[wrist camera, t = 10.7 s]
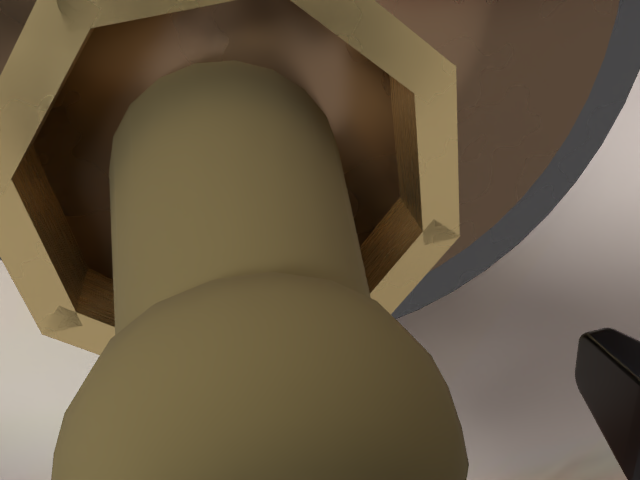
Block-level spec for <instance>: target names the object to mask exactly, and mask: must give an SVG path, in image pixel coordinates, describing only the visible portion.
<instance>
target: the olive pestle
mask: <svg viewBox="0 0 640 480" xmlns="http://www.w3.org/2000/svg"><path fill="white" fill-rule="evenodd" d="M109 183H110V210H111V236H112V263H113V290H114V316H115V336H113V337H112V338H111V339H110V341H109V342H108V344H107V345H106V347H105V349H104V350H103V352H102V353H101V355H100V357H99V358H98V360H97V361H96V363H95V364H94V366H93V368H92V369H91V371H90V373H89V374H88V376H87V378H86V379H85V381H84V382H83V384H82V386H81V387H80V389H79V391H78V392H77V394H76V396H75V397H74V399H73V400H72V402H71V404H70V405H69V407H68V409H67V410H66V412H65V414H64V418H63V421H62V425H61V429H60V432H59V436H58V440H57V444H56V447H55V451H54V458H53V468H52V478H51V480H466V478H467V472H468V466H469V463H468V458H467V453H466V448H465V442H464V437H463V432H462V427H461V424H460V421H459V418H458V415H457V412H456V409H455V406H454V403H453V400H452V397H451V394H450V391H449V388H448V386H447V384H446V382H445V380H444V378H443V377H442V375H441V373H440V371H439V369H438V367H437V366H436V364H435V362H434V360H433V358H432V356H431V355H430V354H429V353H428V352H427V351H426V350H425V349H424V348H423V347H422V346H421V345H420V344H419V343H418V342H417V341H416V340H415V338H414V337H413V336H412V335H411V334H410V333H409V332H408V331H407V330H406V329H405V328H404V327H403V326H402V325H401V324H400V323H399V322H398V321H397V320H396V319H395V318H394V317H393V316H392V315H391V314H390V313H389V312H388V311H387V310H386V309H385V308H384V307H382V306H381V305H380V304H379V303H378V302H377V301H376V300H374V299H371V297H370V292H369V287H368V283H367V278H366V274H365V269H364V264H363V260H362V255H361V251H360V246H359V241H358V237H357V232H356V228H355V223H354V218H353V214H352V209H351V205H350V200H349V195H348V191H347V186H346V182H345V177H344V172H343V168H342V163H341V159H340V154H339V149H338V146H337V143H336V141H335V138H334V135H333V132H332V130H331V127H330V124H329V121H328V119H327V116H326V115H325V114H324V113H323V111H322V110H321V109H320V108H319V106H318V105H317V104H316V103H315V102H314V100H313V99H312V98H311V97H310V96H309V94H308V93H307V92H306V91H305V89H303V88H302V87H300V86H298V85H297V84H295V83H294V82H292V81H290V80H289V79H287V78H285V77H284V76H282V75H281V74H279V73H277V72H276V71H274V70H273V69H268V68H264V67H260V66H256V65H252V64H248V63H244V62H240V61H235V60H232V61H219V62H206V63H195V64H192V65H190V66H187V67H185V68H183V69H180V70H178V71H176V72H173V73H171V74H168V75H166V76H164V77H161V78H159V79H158V80H156V81H155V82H154V83H153V84H152V85H151V86H150V87H149V88H148V89H146V90H145V91H144V92H143V93H142V94H141V95H140V96H139V97H138V98H137V99H135V100H134V101H133V102H132V103H131V104H130V105H129V107H128V109H127V111H126V113H125V115H124V117H123V119H122V121H121V123H120V125H119V126H118V128H117V130H116V132H115V134H114V136H113V143H112V151H111V159H110V167H109Z"/></svg>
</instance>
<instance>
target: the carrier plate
mask: <svg viewBox="0 0 640 480" xmlns="http://www.w3.org/2000/svg"><path fill="white" fill-rule="evenodd" d="M232 60H235V61H240V62H244V63H248V64H252V65H256V66H260V67H264V68H268V69H273V70H274V71H276V72H277V73H279V74H281V75H282V76H284V77H285V78H287V79H289V80H290V81H292V82H294V83H295V84H297V85H298V86H300V87H302V88H303V89H305V91H306V92H307V93H308V94H309V96H310V97H311V98H312V99H313V100H314V102H315V103H316V104H317V105H318V106H319V108H320V109H321V110H322V111H323V113H324V114H325V115H326V116H327V119H328V121H329V124H330V127H331V130H332V132H333V135H334V138H335V141H336V143H337V146H338V149H339V154H340V159H341V163H342V168H343V172H344V177H345V182H346V186H347V191H348V195H349V200H350V205H351V209H352V214H353V218H354V223H355V228H356V232H357V237H358V241H359V246H360V251H361V255H362V260H363V264H364V269H365V274H366V278H367V283H368V287H369V292H370V297H371V299H374V300H376V301H377V302H378V303H379V304H380V305H381V306H382V307H384V308H385V309H386V310H387V311H388V312H389V313H390V314H391V315H392V316H393V317H394V318H395V319H397V318H399V317H402V316H404V315H407V314H409V313H411V312H414V311H416V310H419V309H421V308H422V307H424V306H426V305H428V304H430V303H432V302H434V301H436V300H438V299H440V298H441V297H443V296H445V295H447V294H449V293H451V292H453V291H454V290H456V289H457V288H459V287H461V286H462V285H464V284H465V283H467V282H468V281H470V280H471V279H473V278H474V277H476V276H477V275H479V274H480V273H482V272H483V271H485V270H486V269H488V268H489V267H490V266H491V265H493V264H494V263H495V262H496V261H498V260H499V259H500V258H501V257H503V256H504V255H505V254H506V253H508V252H509V251H510V250H511V249H513V248H514V247H515V246H516V245H517V244H519V243H520V242H521V241H522V240H523V239H524V238H525V237H526V236H527V235H528V234H529V233H530V232H531V231H532V230H533V229H534V228H535V227H536V226H537V225H538V224H539V223H540V222H541V221H542V220H543V219H544V218H545V217H546V216H547V215H548V214H549V213H550V212H551V211H552V210H553V208H554V207H555V206H556V205H557V204H558V202H559V201H560V200H561V199H562V198H563V197H564V195H565V194H566V193H567V192H568V191H569V189H570V188H571V187H572V186H573V185H574V184H575V182H576V181H577V180H578V178H579V177H580V175H581V174H582V172H583V171H584V170H585V168H586V167H587V165H588V164H589V162H590V161H591V159H592V158H593V157H594V155H595V154H596V152H597V151H598V149H599V148H600V146H601V145H602V143H603V141H604V140H605V138H606V136H607V134H608V133H609V131H610V129H611V127H612V125H613V124H614V122H615V120H616V118H617V116H618V115H619V113H620V111H621V109H622V108H623V106H624V104H625V102H626V99H627V97H628V95H629V93H630V90H631V88H632V86H633V83H634V81H635V79H636V77H637V74H638V72H639V70H640V0H0V260H2V261H3V263H4V265H5V267H6V269H7V270H8V272H9V274H10V276H11V278H12V280H13V281H14V283H15V285H16V287H17V289H18V291H19V292H20V294H21V296H22V298H23V300H24V302H25V304H26V305H27V307H28V309H29V311H30V313H31V315H32V316H33V318H34V320H35V322H36V324H37V326H38V328H39V329H40V331H41V334H42V335H46V336H48V337H51V338H54V339H57V340H59V341H62V342H65V343H68V344H71V345H73V346H76V347H79V348H82V349H85V350H87V351H90V352H93V353H96V354H98V355H101V353H102V352H103V350H104V349H105V347H106V345H107V344H108V342H109V341H110V339H111V338H112V337H113V336H115V316H114V290H113V263H112V236H111V210H110V183H109V167H110V159H111V151H112V143H113V136H114V134H115V132H116V130H117V128H118V126H119V125H120V123H121V121H122V119H123V117H124V115H125V113H126V111H127V109H128V107H129V105H130V104H131V103H132V102H133V101H134V100H135V99H137V98H138V97H139V96H140V95H141V94H142V93H143V92H144V91H145V90H146V89H148V88H149V87H150V86H151V85H152V84H153V83H154V82H155V81H156V80H158V79H159V78H161V77H164V76H166V75H168V74H171V73H173V72H176V71H178V70H180V69H183V68H185V67H187V66H190V65H192V64H195V63H206V62H219V61H232Z"/></svg>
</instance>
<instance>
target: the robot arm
mask: <svg viewBox="0 0 640 480" xmlns="http://www.w3.org/2000/svg"><path fill="white" fill-rule="evenodd" d="M575 379H576V383H577V386H578V389H579V391H580V393H581V394H582V396H583V398H584V400H585V402H586V404H587V406H588V407H589V409H590V411H591V413H592V415H593V417H594V419H595V420H596V422H597V424H598V426H599V428H600V430H601V432H602V433H603V435H604V437H605V439H606V441H607V443H608V445H609V446H610V448H611V450H612V452H613V454H614V456H615V458H616V459H617V461H618V463H619V465H620V467H621V469H622V470H623V472H624V474H625V476H626V477H627V479H628V480H640V341H638V340H636V339H634V338H632V337H630V336H628V335H626V334H623V333H621V332H619V331H617V330H615V329H611V328H603V329H599V330H595V331H591V332H587V333H584V334H582V336H581V337H580V339H579V344H578V352H577V360H576V368H575Z"/></svg>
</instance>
